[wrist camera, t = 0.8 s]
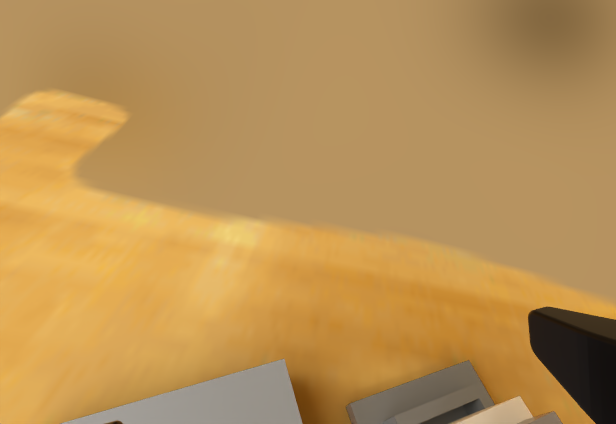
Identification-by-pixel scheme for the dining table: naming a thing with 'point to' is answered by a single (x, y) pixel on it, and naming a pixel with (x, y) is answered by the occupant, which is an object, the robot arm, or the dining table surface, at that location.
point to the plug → (508, 415)
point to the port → (215, 402)
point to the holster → (425, 399)
